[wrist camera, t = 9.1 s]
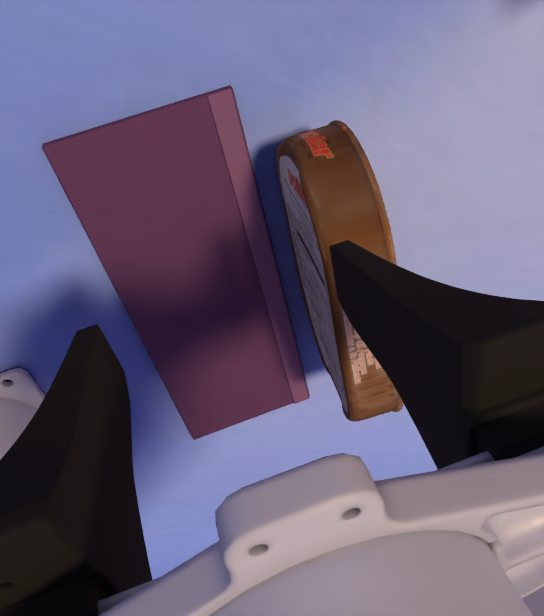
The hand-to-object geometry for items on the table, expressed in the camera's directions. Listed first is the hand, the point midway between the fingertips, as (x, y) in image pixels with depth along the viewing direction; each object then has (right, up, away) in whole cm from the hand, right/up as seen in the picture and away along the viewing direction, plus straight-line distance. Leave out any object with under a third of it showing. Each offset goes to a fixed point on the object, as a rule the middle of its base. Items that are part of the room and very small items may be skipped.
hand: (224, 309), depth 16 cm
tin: (+3, +3, +12) cm, 13 cm away
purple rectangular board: (-2, +1, +12) cm, 12 cm away
